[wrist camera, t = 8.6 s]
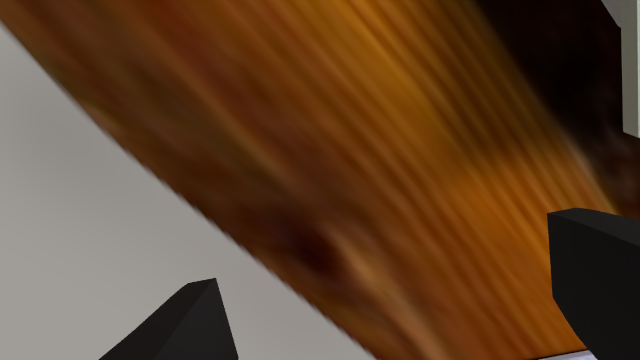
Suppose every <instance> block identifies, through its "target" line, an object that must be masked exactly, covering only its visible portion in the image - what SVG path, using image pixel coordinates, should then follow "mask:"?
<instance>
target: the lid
mask: <svg viewBox="0 0 640 360" xmlns="http://www.w3.org/2000/svg"><path fill="white" fill-rule="evenodd" d="M621 45H622V96H623V132H625V133H628V134H630V135H633V136H636V137H638V138H639V137H640V0H621Z"/></svg>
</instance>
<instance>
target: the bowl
mask: <svg viewBox="0 0 640 360" xmlns="http://www.w3.org/2000/svg"><path fill="white" fill-rule="evenodd" d="M601 1H602V2H603V4H604V5H605V7H606V8H607V10H608V12H609V13H610V15H611V16H612V18H613V19H614V21H615V22H616V24H617V25H618V26H619V27H621V0H601Z"/></svg>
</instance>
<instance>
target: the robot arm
mask: <svg viewBox="0 0 640 360" xmlns="http://www.w3.org/2000/svg"><path fill="white" fill-rule="evenodd" d="M547 219H548V234H549V249H550V264H551V279H552V294H553V298H554V300H555V302H556V303H557V305H558V307H559V308H560V310H561V312H562V313H563V315H564V317H565V318H566V320H567V321H568V323H569V324H570V326H571V327H572V329H573V331H574V332H575V334H576V335H577V336H578V337H579V339H580V340H581V341H582V342H583V343H584V345H585V346H586V347H587V348H588V349H589V350H587V351H582V352H577V353H571V354H566V355H561V356H555V357H550V358H545V359H540V360H640V221H637V220H633V219H629V218H625V217H621V216H617V215H613V214H609V213H605V212H600V211H595V210H590V209H583V208H572V209H567V210H562V211H556V212H551V213H547ZM99 360H238V354H237V351H236V347H235V344H234V340H233V337H232V333H231V330H230V326H229V323H228V319H227V316H226V312H225V308H224V305H223V302H222V298H221V294H220V291H219V287H218V284H217V281H216V278H213V279H207V280H202V281H197V282H192V283H188V284H186V285H185V286H184V287H182V288H181V289H180V290H179V291H177V292H176V293H175V294H174V295H173V296H171V297H170V298H169V299H168V300H167V301H166V302H165V303H164V304H162V305H161V306H160V307H159V308H158V309H157V310H156V311H155V312H154V313H153V314H152V315H151V316H149V317H148V318H147V319H146V320H145V321H144V322H143V323H142V324H140V325H139V326H138V327H137V328H136V329H135V330H134V331H133V332H131V333H130V334H129V335H128V336H127V337H126V338H124V339H123V340H122V341H121V342H119V343H118V344H117V345H116V346H114V347H113V348H112V349H111V350H110V351H108V352H107V353H106V354H105V355H104V356H102V357H101V358H100V359H99Z"/></svg>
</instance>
